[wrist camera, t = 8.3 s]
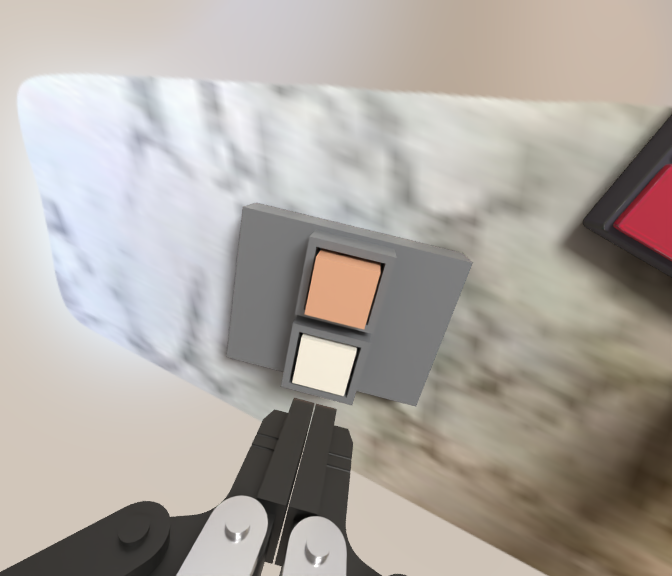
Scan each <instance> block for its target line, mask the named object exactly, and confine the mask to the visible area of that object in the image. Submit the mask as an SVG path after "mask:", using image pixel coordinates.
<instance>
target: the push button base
mask: <svg viewBox="0 0 672 576" xmlns="http://www.w3.org/2000/svg"><path fill="white" fill-rule="evenodd" d="M322 248H324V249H328V250H332V251H336V252H340V253H344V254H348V255H353V256H357V257H361V258H365V259H369V260H373V261H377V262H380V271H381V273H380V276H379V280H378V283H377V287H376V290H375V294H374V297H373V301H372V304H371V308H370V311H369V315H368V318H367V322H366V325H365V329H360V328H356V327H352V326H348V325H344V324H340V323H336V322H332V321H328V320H324V319H320V318H317V317H313V316H309V315H305V309H306V304H307V299H308V295H309V290H310V285H311V280H312V275H313V270H314V265H315V260H316V256H317V255H318V253H319V252H320V250H321V249H322ZM471 266H472V262H471V261H470V260H469V259H468V258H467V257H466V256H465V255H464V254H463V253H461V252H457V251H453V250H449V249H445V248H441V247H436V246H432V245H428V244H424V243H420V242H416V241H412V240H408V239H404V238H399V237H395V236H391V235H387V234H383V233H379V232H375V231H371V230H366V229H362V228H358V227H354V226H350V225H346V224H342V223H338V222H334V221H329V220H325V219H321V218H317V217H313V216H309V215H305V214H301V213H297V212H292V211H288V210H284V209H280V208H276V207H272V206H268V205H264V204H260V203H254V204H250V205H247V206H243V210H242V219H241V228H240V237H239V247H238V256H237V265H236V274H235V284H234V293H233V302H232V311H231V320H230V330H229V339H228V348H227V357H228V358H232V359H236V360H240V361H243V362H247V363H251V364H255V365H259V366H263V367H266V368H270V369H274V370H278V371H282V372H284V373H283V378H282V384H281V387H284V388H288V389H291V390H295V391H299V392H303V393H307V394H311V395H314V396H318V397H322V398H326V399H330V400H333V401H337V402H341V403H345V404H349V405H352V404H353V401H354V397H355V394H356V391H359V392H362V393H366V394H370V395H374V396H378V397H382V398H386V399H389V400H393V401H397V402H401V403H405V404H409V405H412V406H416V405H417V403H418V400H419V397H420V395H421V392H422V390H423V387H424V385H425V382H426V380H427V377H428V375H429V372H430V370H431V367H432V365H433V362H434V360H435V357H436V354H437V352H438V349H439V347H440V344H441V342H442V339H443V337H444V334H445V332H446V329H447V327H448V324H449V322H450V319H451V317H452V314H453V311H454V309H455V306H456V304H457V301H458V299H459V296H460V294H461V291H462V289H463V286H464V284H465V281H466V279H467V276H468V274H469V271H470V268H471ZM303 333H306V334H309V335H313V336H317V337H321V338H325V339H329V340H333V341H337V342H341V343H345V344H349V345H353V346H356V347H357V351H356V355H355V359H354V362H353V366H352V369H351V373H350V376H349V380H348V383H347V387H346V390H345V394H344V396H341V395H337V394H333V393H330V392H326V391H322V390H318V389H314V388H310V387H307V386H303V385H299V384H295V383H292V381H293V377H294V372H295V367H296V362H297V357H298V352H299V347H300V343H301V338H302V335H303Z"/></svg>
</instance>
